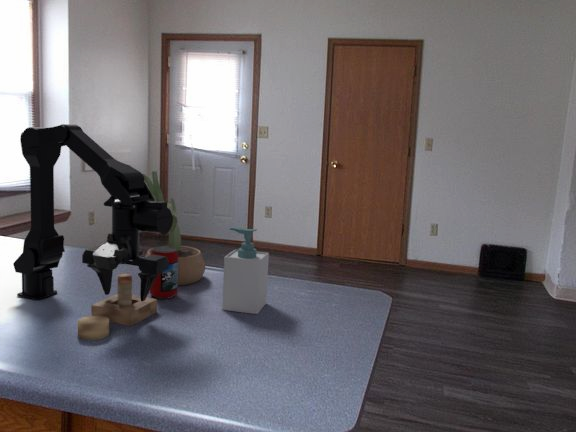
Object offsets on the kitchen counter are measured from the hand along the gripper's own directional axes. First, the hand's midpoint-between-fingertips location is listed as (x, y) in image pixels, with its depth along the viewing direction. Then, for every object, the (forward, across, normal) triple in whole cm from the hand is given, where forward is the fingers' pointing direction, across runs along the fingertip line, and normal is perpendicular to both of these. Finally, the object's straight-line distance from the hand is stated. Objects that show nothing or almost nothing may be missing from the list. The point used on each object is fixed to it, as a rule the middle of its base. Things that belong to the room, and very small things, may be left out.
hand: (124, 297), depth 124 cm
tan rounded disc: (+4, +1, -12) cm, 13 cm away
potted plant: (+4, -7, +28) cm, 29 cm away
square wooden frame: (+4, 0, 0) cm, 4 cm away
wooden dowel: (+4, 0, 0) cm, 4 cm away
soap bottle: (+4, +21, +18) cm, 28 cm away
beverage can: (+4, 0, +16) cm, 17 cm away
